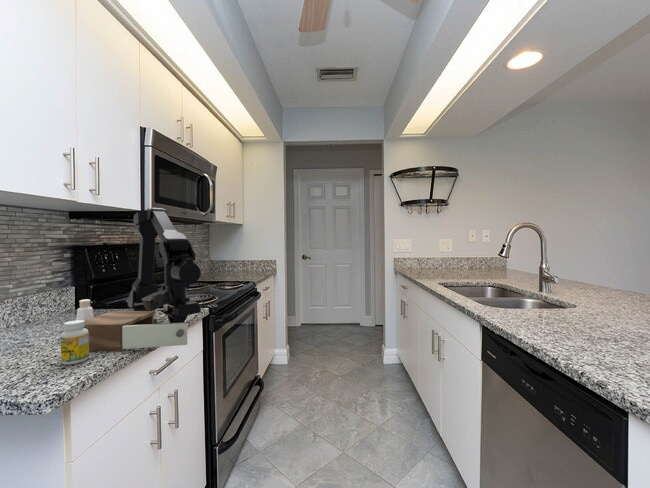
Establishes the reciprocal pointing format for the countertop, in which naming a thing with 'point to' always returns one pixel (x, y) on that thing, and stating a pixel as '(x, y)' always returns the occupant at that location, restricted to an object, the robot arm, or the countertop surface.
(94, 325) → the cabinet
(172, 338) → the side door
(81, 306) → the salt shaker
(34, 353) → the countertop surface
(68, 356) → the supplement bottle
